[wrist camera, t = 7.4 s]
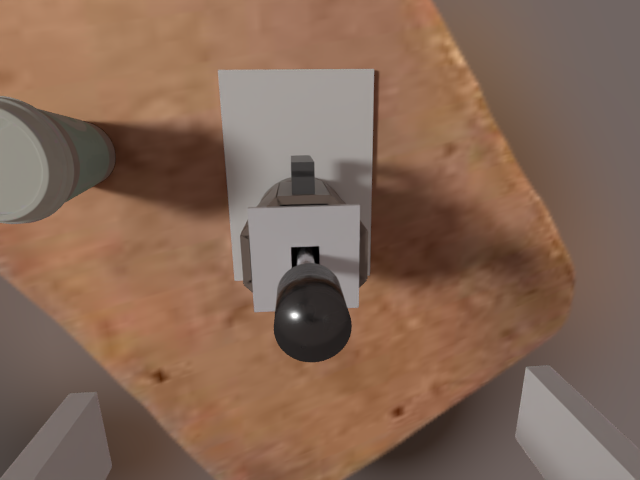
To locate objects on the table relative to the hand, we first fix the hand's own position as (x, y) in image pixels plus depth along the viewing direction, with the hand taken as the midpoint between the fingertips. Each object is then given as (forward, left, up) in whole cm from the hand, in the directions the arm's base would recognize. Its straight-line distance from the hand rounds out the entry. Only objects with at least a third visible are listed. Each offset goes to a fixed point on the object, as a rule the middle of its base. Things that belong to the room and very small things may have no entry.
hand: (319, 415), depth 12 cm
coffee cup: (-7, -20, -29) cm, 36 cm away
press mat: (-4, 0, -29) cm, 29 cm away
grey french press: (-1, 0, -28) cm, 28 cm away
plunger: (0, 0, -23) cm, 23 cm away
